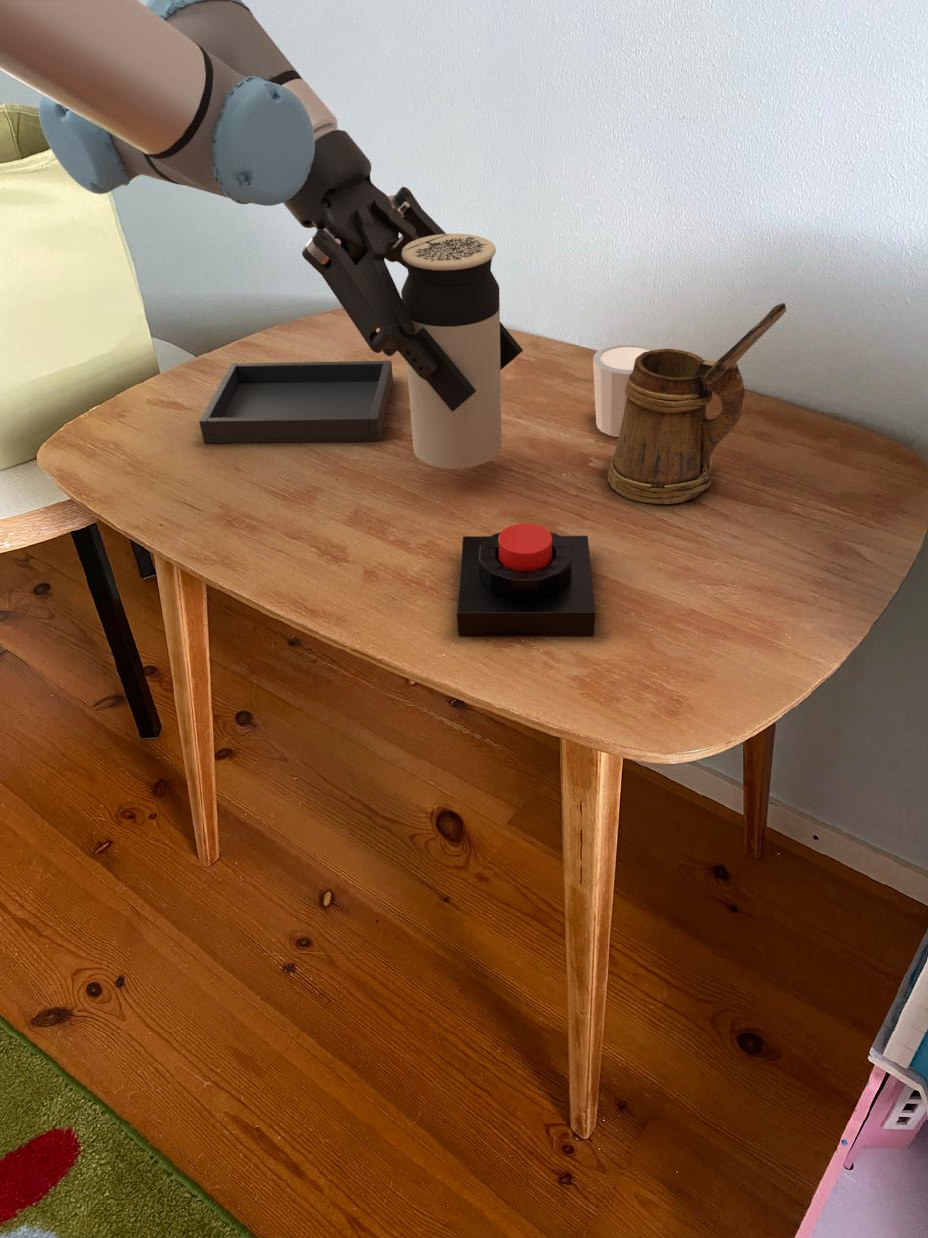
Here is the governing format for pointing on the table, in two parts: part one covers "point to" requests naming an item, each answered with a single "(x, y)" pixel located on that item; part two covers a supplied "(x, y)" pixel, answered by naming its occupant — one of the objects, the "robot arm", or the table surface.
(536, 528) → the button
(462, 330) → the travel mug
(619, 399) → the white cup
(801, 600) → the table surface
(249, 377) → the tray
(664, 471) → the wooden mug
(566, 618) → the control block
